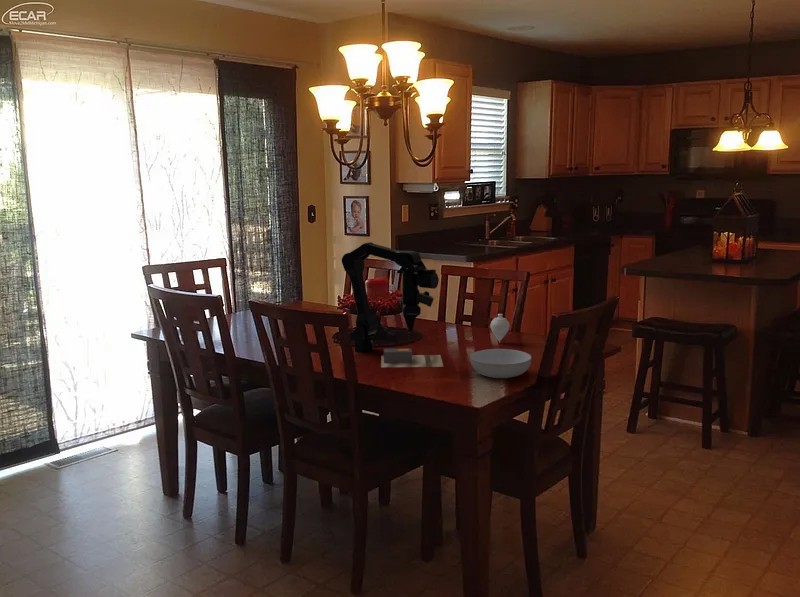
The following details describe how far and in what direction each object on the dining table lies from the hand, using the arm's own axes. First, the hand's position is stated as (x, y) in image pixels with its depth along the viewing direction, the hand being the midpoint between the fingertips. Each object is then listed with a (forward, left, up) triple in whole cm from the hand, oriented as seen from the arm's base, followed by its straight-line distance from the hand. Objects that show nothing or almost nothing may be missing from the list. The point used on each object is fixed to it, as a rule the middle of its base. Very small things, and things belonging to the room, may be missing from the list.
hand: (409, 328), depth 265 cm
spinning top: (+37, +27, -13) cm, 48 cm away
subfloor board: (0, -5, -13) cm, 13 cm away
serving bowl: (+30, -19, -13) cm, 38 cm away
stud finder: (-5, -5, -11) cm, 13 cm away
